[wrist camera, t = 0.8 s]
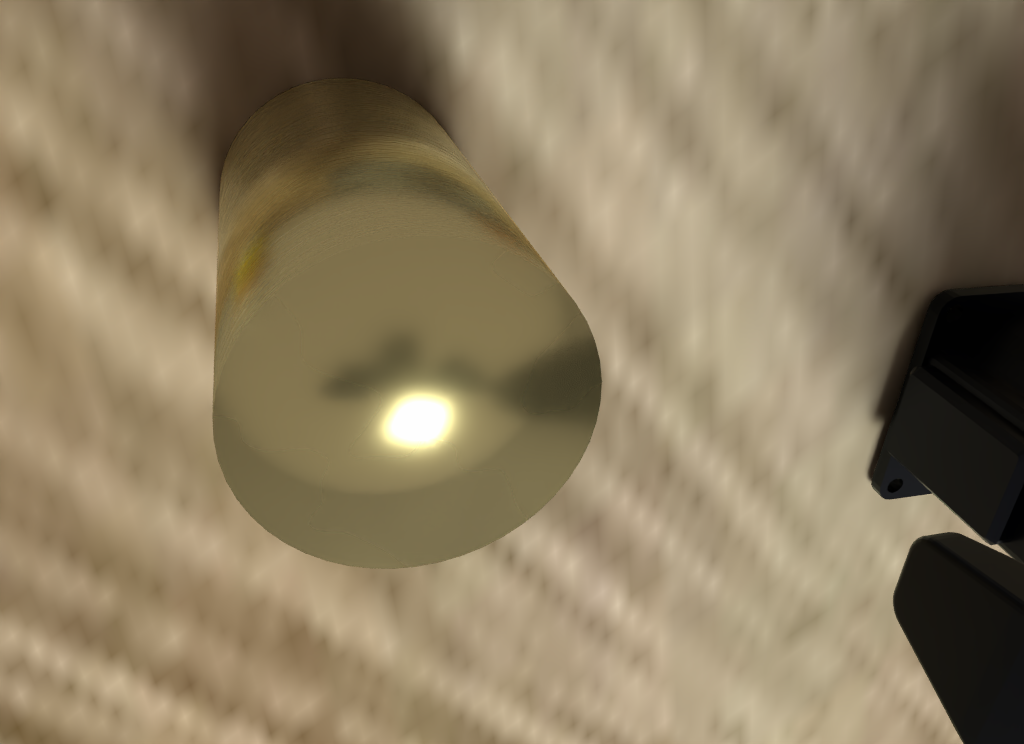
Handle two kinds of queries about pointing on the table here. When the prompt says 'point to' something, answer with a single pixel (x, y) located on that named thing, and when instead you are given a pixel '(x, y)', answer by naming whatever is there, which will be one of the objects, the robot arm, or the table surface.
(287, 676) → the table surface
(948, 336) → the robot arm
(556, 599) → the table surface
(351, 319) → the cylinder
